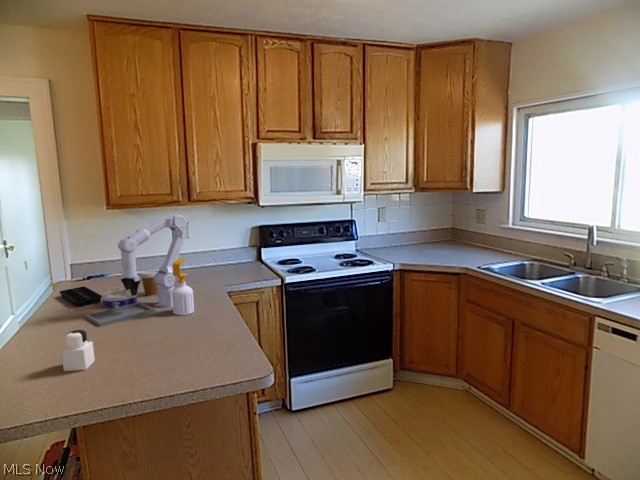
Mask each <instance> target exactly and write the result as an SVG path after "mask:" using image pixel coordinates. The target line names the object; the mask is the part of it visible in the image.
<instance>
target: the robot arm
mask: <svg viewBox="0 0 640 480" xmlns="http://www.w3.org/2000/svg"><path fill="white" fill-rule="evenodd" d="M187 223H188V221H187V220H186V218H185V216H183V215H181V214H173V213H169V214H166V215H164V216H163V217H161V218H160V219H158V220H157V221H155V222H154V223H153V224H151V225H149V227H147V228H146V229H144V228H141V229H140V228H138V229H136V232H134V233H132V234H128V235H127V237H126V238H125V237H124V238H122V239H120V240H119V242H118V244H117V248H118V249H119V250H120V257H121V268H122V272H121V275H120V281H121V283H122V284H123V286H124V289H126V290H128V289H130V292H131V295H132V296H134V295H137V296H138V289H139V286H140V283H142V282H141V281H142V279H140V276H139V275H138V273H137V272H138V271H137V261H136V249H137V247H139V246H141V245H142V244H144V243H146V242H147V241H148V240H149V239H150V236H152V235H153V234H155V233H157V232H159V231H161V230H162V229H164V228H169V229H170V230H171V232H172V234H173V236H172V240H171V243H170V245H169V249H168V251H167V253H166V257H165V259H164V262H163V264H162V266H161V267H160V268H158V270H157V271H158V272H157V273H156V274H155V276H154V282H155V283H156V284H157V293H158V294H157V301H158V303H156V304H154V306H155V307H162V308H163V307H164V308H171V307H172V308H173V301H172V291H173V290H174V289H175V288H176V287H175V286H174V285H175V282H176V276H174V275H173V268H172V265H173V263H174V262H175V261H176V260H178V259H179V258H180V257H179V256H180V254H181V251H182V249H183V246H184V243H185V240H186V237H187Z"/></svg>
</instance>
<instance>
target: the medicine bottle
mask: <svg viewBox="0 0 640 480" xmlns="http://www.w3.org/2000/svg"><path fill="white" fill-rule="evenodd" d="M64 336H65V345H66V346H65V348H63V349H62V350H61V361H62V367H63V371H64V372H71V371H72V372H73V371H77V372H78V371H86V370H87V369H88V368H89V367H90V366H91V365H92V364H93V363H94V362H95V359H96V358H95V349H94V343H93V341H88V335H87V331H85V330H83V329H75V330H72V331H69V332H67V333H66V334H65V335H64Z"/></svg>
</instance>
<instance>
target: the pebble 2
mask: <svg viewBox="0 0 640 480" xmlns="http://www.w3.org/2000/svg"><path fill="white" fill-rule="evenodd" d="M126 294H127V298H135V297H137V298H138V294H137V295H134V296H132V295H131V292H130V289H128V290H126Z"/></svg>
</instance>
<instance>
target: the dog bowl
mask: <svg viewBox="0 0 640 480" xmlns="http://www.w3.org/2000/svg"><path fill="white" fill-rule="evenodd" d="M120 290H121V294H118V295H111V291H107V292H104V293H102V294H101V296H102V298H101V302H102V306H103V308H106V309H113V308H117V307H121V306H126V305H130V304H134V303H138V296H137V297H135V298H127V294H126V289H125V288H120Z"/></svg>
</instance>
